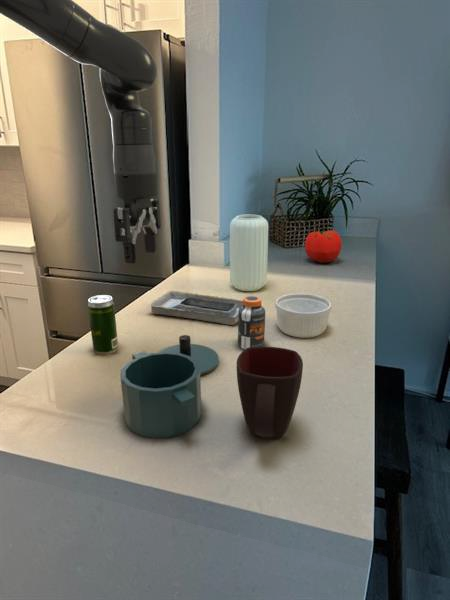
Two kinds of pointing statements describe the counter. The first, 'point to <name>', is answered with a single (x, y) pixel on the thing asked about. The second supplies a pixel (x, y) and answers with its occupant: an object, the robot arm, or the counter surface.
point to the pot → (161, 394)
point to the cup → (268, 389)
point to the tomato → (323, 246)
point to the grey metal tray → (175, 306)
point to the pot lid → (195, 353)
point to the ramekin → (302, 314)
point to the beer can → (103, 324)
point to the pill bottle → (251, 323)
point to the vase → (248, 252)
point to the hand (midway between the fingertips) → (141, 257)
